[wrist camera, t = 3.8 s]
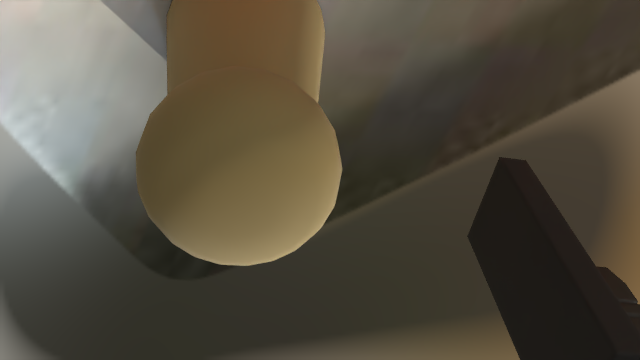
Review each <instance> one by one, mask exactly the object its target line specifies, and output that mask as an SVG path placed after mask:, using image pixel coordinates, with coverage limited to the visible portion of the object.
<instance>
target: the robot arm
mask: <svg viewBox="0 0 640 360" xmlns="http://www.w3.org/2000/svg"><path fill="white" fill-rule="evenodd" d="M468 238H469V241H470V243H471V246H472V248H473V250H474V252H475V255H476V257H477V260H478V262H479V264H480V267H481V269H482V271H483V274H484V276H485V278H486V281H487V283H488V285H489V288H490V290H491V292H492V295H493V297H494V299H495V302H496V304H497V306H498V309H499V311H500V313H501V316H502V318H503V320H504V322H505V325H506V327H507V330H508V332H509V334H510V337H511V339H512V341H513V344H514V346H515V348H516V351H517V353H518V355H519V358H520V360H640V305H639V304H637V302H638V301H637V299H636V298H635V297H634V295H633V294H632V292H631V291H630V289H629V288H628V287H627V285H626V284H625V283H624V282H623V281H622V280H621V279H620V278H618V277H617V276H616V275H615V274H613V273H612V272H611V271H610V270H609V269H608V268H606V267H596V266H595V264H594V263H593V261H592V260H591V258H590V257H589V255H588V254H587V252H586V251H585V249H584V248H583V246H582V245H581V243H580V242H579V240H578V239H577V237H576V236H575V234H574V233H573V231H572V230H571V228H570V227H569V225H568V224H567V222H566V221H565V219H564V218H563V216H562V214H561V213H560V212H559V210H558V208H557V207H556V205H555V204H554V202H553V201H552V199H551V198H550V196H549V195H548V193H547V192H546V190H545V189H544V187H543V186H542V184H541V183H540V181H539V179H538V178H537V176H536V175H535V173H534V172H533V170H532V169H531V167H530V166H529V164H528V163H527V161H526V160H518V159H511V158H502V157H499V160H498V162H497V165H496V167H495V170H494V172H493V175H492V177H491V179H490V182H489V185H488V187H487V189H486V192H485V195H484V197H483V199H482V202H481V204H480V207H479V209H478V212H477V214H476V216H475V219H474V221H473V224H472V227H471V229H470V232H469V234H468Z"/></svg>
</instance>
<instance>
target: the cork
mask: <svg viewBox="0 0 640 360" xmlns="http://www.w3.org/2000/svg"><path fill="white" fill-rule="evenodd" d="M324 40H325V29H324V23H323V18H322V12H321V8H320V6H319V5H318V3H317V1H316V0H172V2H171V5H170V8H169V11H168V14H167V90H168V95H167V96H166V97H165V98H164V100H163V101H162V102H161V103H160V104H159V105H158V106H157V107H156V108H155V110H154V111H153V112H152V113H151V114H150V116H149V119H148V121H147V124H146V126H145V129H144V132H143V134H142V137H141V140H140V142H139V145H138V148H137V151H136V178H137V187H138V193H139V195H140V198H141V200H142V202H143V205H144V207H145V209H146V212H147V214H148V216H149V218H150V219H151V220H152V221H153V222H154V223H155V224H156V226H157V227H158V228H159V229H160V230H161V231H162V232H163V233H164V234H165V235H166V237H167V238H168V239H169V240H170V241H171V242H172V243H173V244H174V245H176V246H178V247H179V248H181V249H183V250H184V251H186V252H188V253H189V254H191V255H193V256H194V257H197V258H200V259H204V260H207V261H210V262H214V263H217V264H222V265H241V266H248V265H254V264H259V263H264V262H270V261H273V260H276V259H278V258H280V257H282V256H285V255H287V254H289V253H291V252H293V251H295V250H296V249H298V248H299V247H300V246H301V245H302V244H304V243H305V242H306V241H307V240H308V239H310V238H311V237H312V236H313V235H314V234H315V233H316V232H317V231H318V230H319V229H320V228H321V227H322V226H323V224H324V222H325V221H326V219H327V217H328V216H329V214H330V213H331V211H332V209H333V208H334V206H335V202H336V198H337V193H338V188H339V183H340V178H341V173H342V164H341V159H340V153H339V148H338V142H337V138H336V134H335V130H334V128H333V127H332V125H331V123H330V122H329V120H328V118H327V117H326V115H325V113H324V112H323V110H322V108H321V107H320V105H319V104H318V98H319V88H320V78H321V69H322V59H323V49H324Z"/></svg>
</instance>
